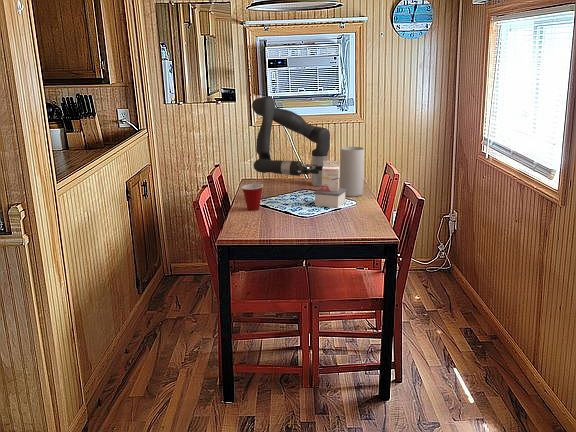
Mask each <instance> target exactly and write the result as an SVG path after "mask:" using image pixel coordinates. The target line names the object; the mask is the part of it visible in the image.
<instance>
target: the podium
mask: <svg viewBox="0 0 576 432" xmlns="http://www.w3.org/2000/svg"><path fill="white" fill-rule="evenodd" d="M345 191H347V189H344V188H340V187H339V190H338V191H322V186H320V188H319V189H316V190H315V191H313V195H314V205H315V206H316V207H318V206H319V207H326V208H338V209H339V207H341V206H342V205H343V204H345V202H346V196H345Z"/></svg>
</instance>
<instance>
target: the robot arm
mask: <svg viewBox="0 0 576 432" xmlns="http://www.w3.org/2000/svg"><path fill="white" fill-rule="evenodd" d="M251 108H252V110H253V112H254V113H255V114H256V115H258V116H261V117H262V121H261V125H260V127H259V128H260V129H259V130H258V133H257V136H256V149H255V150H256V154H258V159H256V160H255V161H254V162H253V168H254V171H256V172H258V173H261V174H267V173H270V174H271V173H273V174H276V175H278V174H279V175H285V176H286V175H287V176H295V177H296V176H297V177H299V176H301V175H307V176H308V175H311V185H312V186H315V187H322V168H323V161H329V158H328V157H329V151H330V144H331V135H330V134H331V133H330V131H329V129H328V128H327V127H323V126H322V127H321V126H315V125H314V124H310V123H308V122H306V121H305V119H304V118H303V117H302V116H301V115H299V114H297V113H296V112H294V111H292V110H289V109H286V108H285V109H284V108H279V107H276V102H275V100H274V98H273V96H267V95H266V96H261V97H258V98H256V99H254V100H253V101H252V104H251ZM273 121H274V122H273ZM273 123H277V124H279V126H282V127H284V128H286V129H287V130H290V131H292V132H294V133H297V134H299V135H302V136H304V137H305V138H307V139H308V140H309V141H311V142H313V143H315V144H316V147H315V148H314V149H312V150H311V164H310V163H307V164H304V165H303V163H302V161H299V160H288V159H287V160H281V159H280V160H278V159H274V160H273V159H272V157H271V153H270V148H271V135H272V134H271V132H272V127H273Z"/></svg>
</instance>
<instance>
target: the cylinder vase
mask: <svg viewBox="0 0 576 432" xmlns="http://www.w3.org/2000/svg"><path fill="white" fill-rule="evenodd" d="M364 171H365V147H361V146H344V147H340V160H339V188H344V189H347V191H345V197H348V198H349V197H350V198H351V197H352V198H353V197H360V196H362V195H364V176H365V175H364V174H365V172H364Z"/></svg>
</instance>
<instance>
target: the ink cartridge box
mask: <svg viewBox="0 0 576 432" xmlns="http://www.w3.org/2000/svg"><path fill="white" fill-rule="evenodd" d="M321 187H322V191H338V190H339V188H340V160H328V161H323V168H322V186H321Z"/></svg>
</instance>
